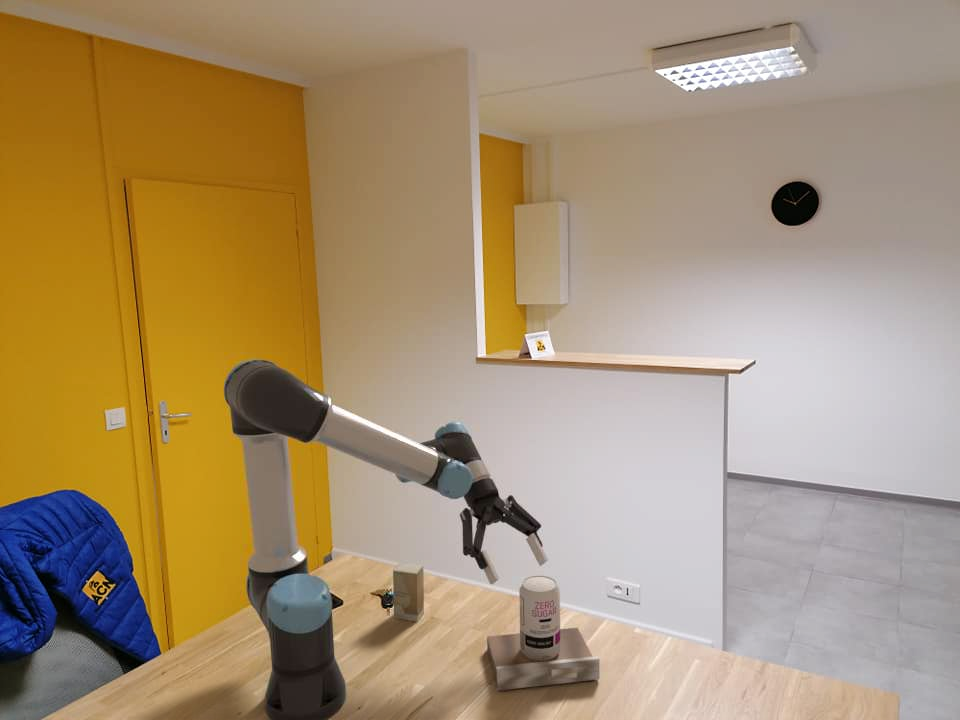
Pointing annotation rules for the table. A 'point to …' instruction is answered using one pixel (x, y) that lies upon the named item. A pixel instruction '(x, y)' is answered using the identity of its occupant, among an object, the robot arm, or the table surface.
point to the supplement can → (539, 618)
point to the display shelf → (541, 662)
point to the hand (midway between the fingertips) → (520, 572)
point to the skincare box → (408, 591)
